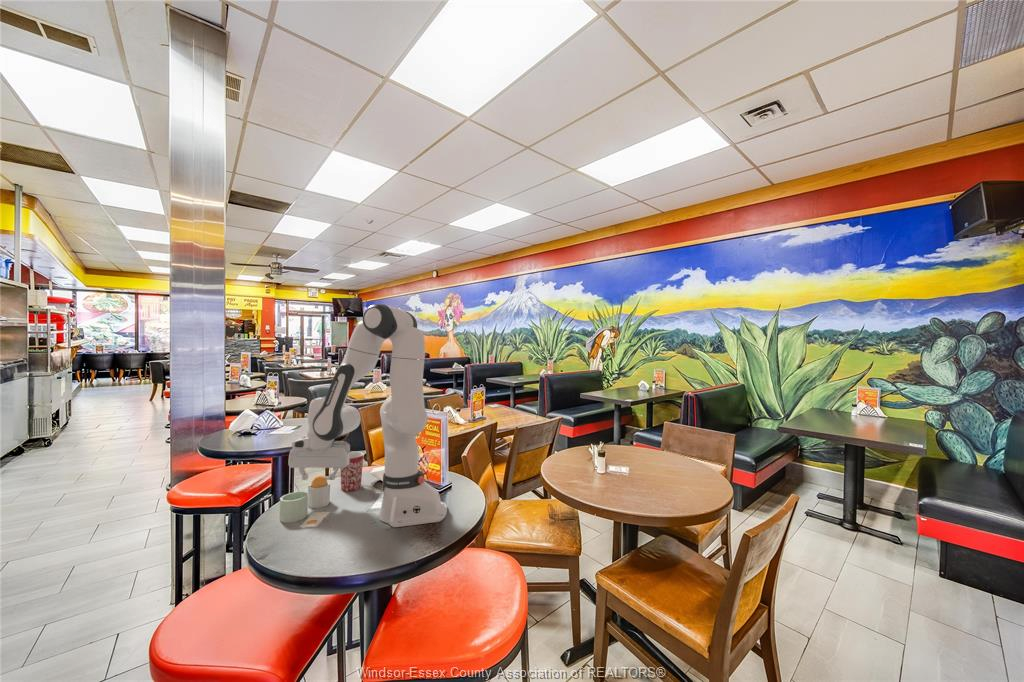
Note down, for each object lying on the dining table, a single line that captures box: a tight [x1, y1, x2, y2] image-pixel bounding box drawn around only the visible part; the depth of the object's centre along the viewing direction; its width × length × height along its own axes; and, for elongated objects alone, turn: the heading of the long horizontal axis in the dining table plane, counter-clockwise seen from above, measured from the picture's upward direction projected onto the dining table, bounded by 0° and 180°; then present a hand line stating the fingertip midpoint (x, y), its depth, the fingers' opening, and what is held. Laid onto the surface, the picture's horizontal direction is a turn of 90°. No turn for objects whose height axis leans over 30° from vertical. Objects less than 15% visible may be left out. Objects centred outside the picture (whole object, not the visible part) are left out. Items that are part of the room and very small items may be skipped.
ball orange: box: [310, 475, 328, 488], centre depth 133 cm, size 5×5×5 cm
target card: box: [299, 511, 330, 529], centre depth 120 cm, size 5×10×1 cm, turn 6°
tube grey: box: [307, 481, 331, 509], centre depth 133 cm, size 7×7×7 cm
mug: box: [339, 451, 365, 493], centre depth 149 cm, size 13×9×14 cm
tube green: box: [279, 491, 309, 524], centre depth 122 cm, size 8×8×7 cm
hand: (318, 479), depth 133 cm, fingers open, 8 cm apart
